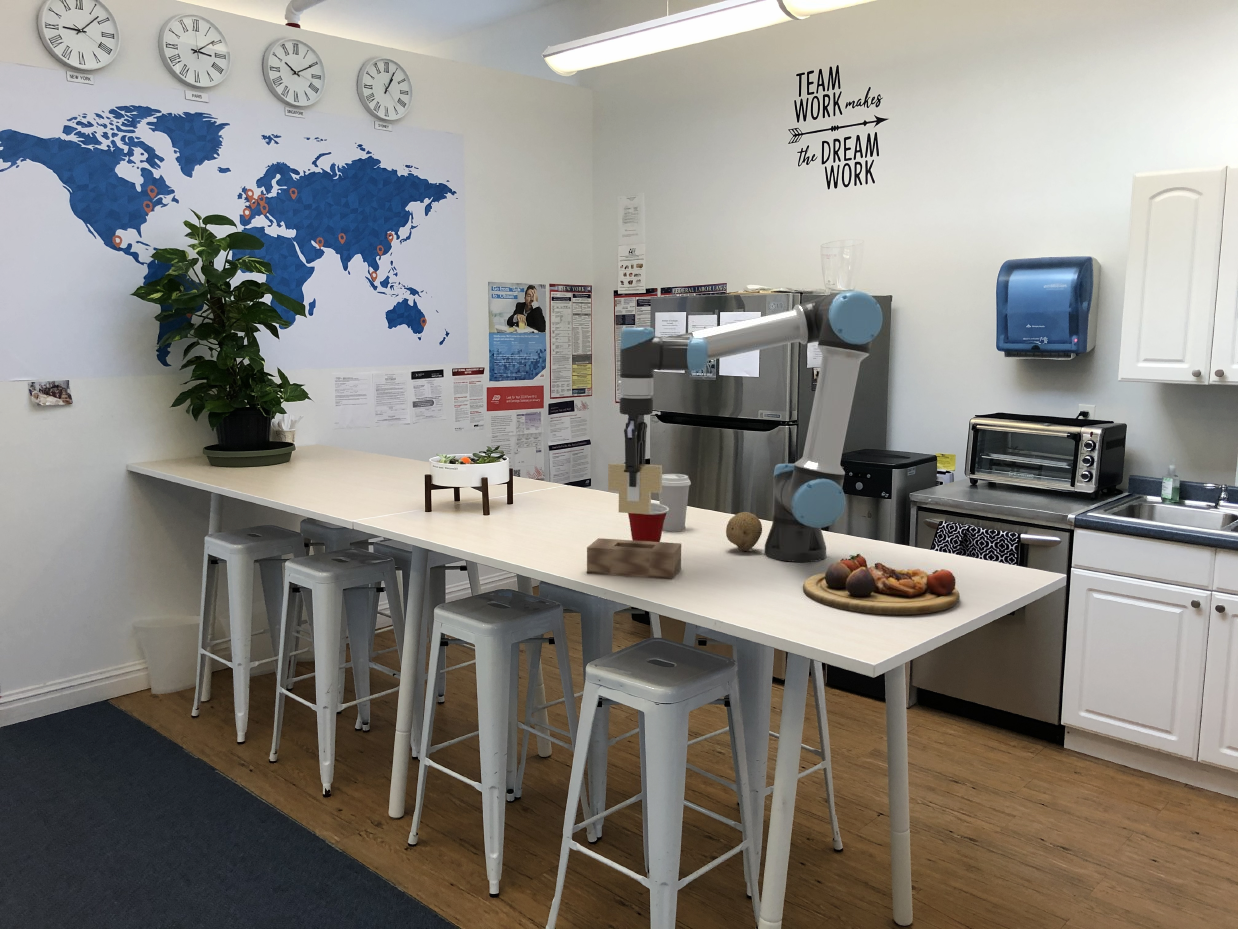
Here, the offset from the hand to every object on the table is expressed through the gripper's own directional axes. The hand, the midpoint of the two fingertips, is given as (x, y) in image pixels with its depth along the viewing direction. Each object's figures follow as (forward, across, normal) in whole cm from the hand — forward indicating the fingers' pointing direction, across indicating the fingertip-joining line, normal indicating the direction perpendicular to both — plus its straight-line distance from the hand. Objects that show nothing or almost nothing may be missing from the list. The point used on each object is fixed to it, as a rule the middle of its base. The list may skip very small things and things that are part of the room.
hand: (634, 499), depth 219 cm
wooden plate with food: (+17, +5, +55) cm, 58 cm away
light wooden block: (+3, 0, 0) cm, 3 cm away
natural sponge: (+17, -27, +22) cm, 39 cm away
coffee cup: (+17, -48, 0) cm, 51 cm away
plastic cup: (+17, -18, -1) cm, 25 cm away
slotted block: (+17, 0, 0) cm, 17 cm away
